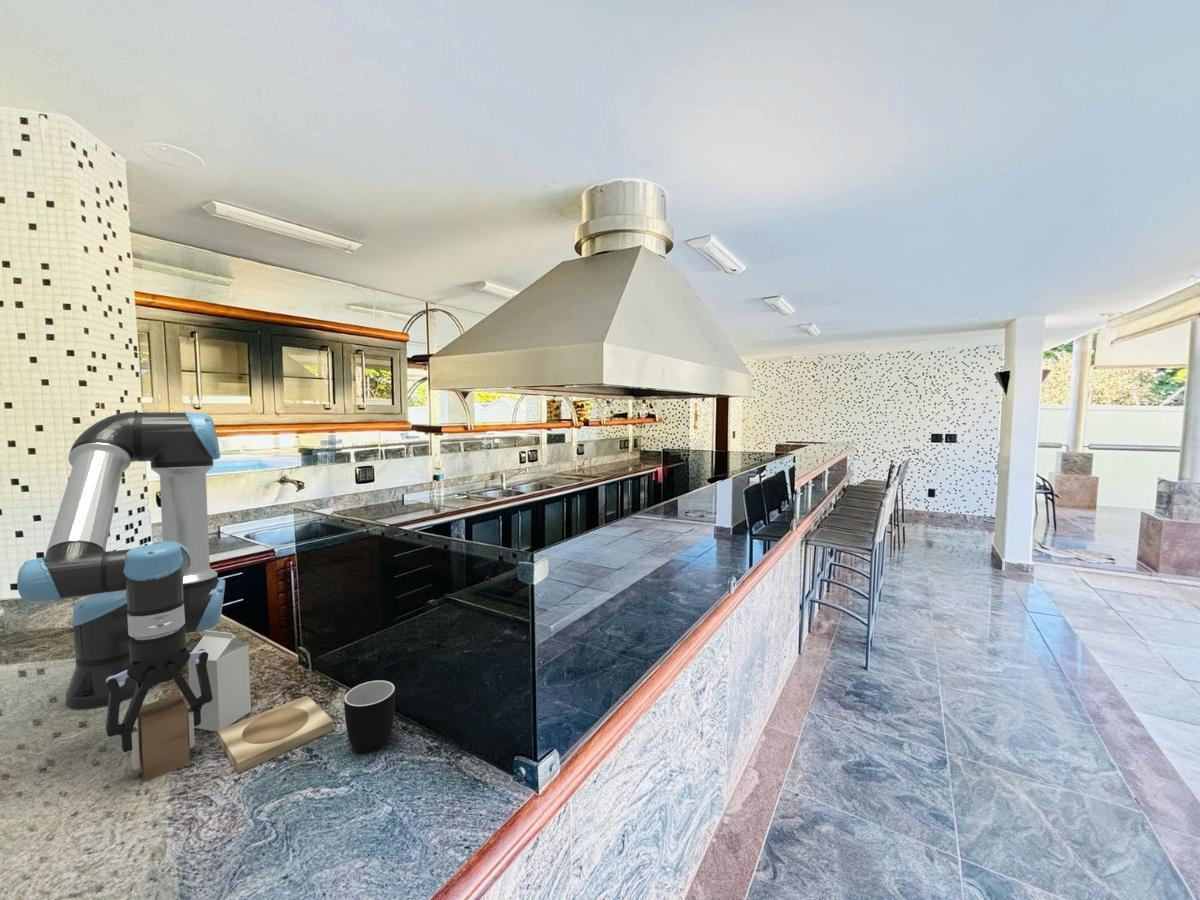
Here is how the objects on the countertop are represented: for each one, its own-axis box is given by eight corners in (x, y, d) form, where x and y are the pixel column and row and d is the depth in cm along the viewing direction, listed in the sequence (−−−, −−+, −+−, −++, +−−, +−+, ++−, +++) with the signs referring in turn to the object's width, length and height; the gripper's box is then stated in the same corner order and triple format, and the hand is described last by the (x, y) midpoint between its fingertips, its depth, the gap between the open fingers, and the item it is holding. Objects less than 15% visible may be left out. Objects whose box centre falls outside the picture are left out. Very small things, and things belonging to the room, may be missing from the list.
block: (139, 766, 88) (136, 707, 87) (182, 749, 92) (179, 693, 92) (144, 782, 84) (141, 721, 83) (189, 763, 88) (186, 705, 88)
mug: (405, 737, 96) (404, 687, 96) (364, 764, 88) (362, 711, 88) (368, 718, 102) (367, 671, 102) (326, 742, 94) (324, 692, 94)
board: (217, 740, 95) (217, 729, 95) (307, 703, 107) (307, 694, 107) (238, 773, 86) (237, 762, 86) (333, 730, 98) (333, 719, 98)
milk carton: (219, 732, 97) (215, 641, 96) (190, 728, 98) (186, 637, 97) (251, 712, 104) (248, 626, 103) (224, 708, 105) (220, 623, 104)
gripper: (78, 658, 77) (86, 796, 78) (231, 619, 92) (235, 735, 93) (75, 644, 81) (83, 774, 83) (220, 609, 97) (225, 720, 98)
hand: (164, 753), depth 88 cm, fingers open, 7 cm apart
